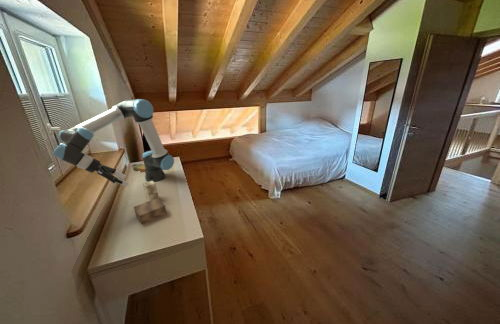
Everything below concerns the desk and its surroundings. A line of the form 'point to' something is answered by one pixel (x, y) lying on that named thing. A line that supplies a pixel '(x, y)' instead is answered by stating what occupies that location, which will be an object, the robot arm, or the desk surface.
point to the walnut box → (150, 210)
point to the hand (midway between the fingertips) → (126, 181)
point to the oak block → (150, 190)
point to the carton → (139, 168)
